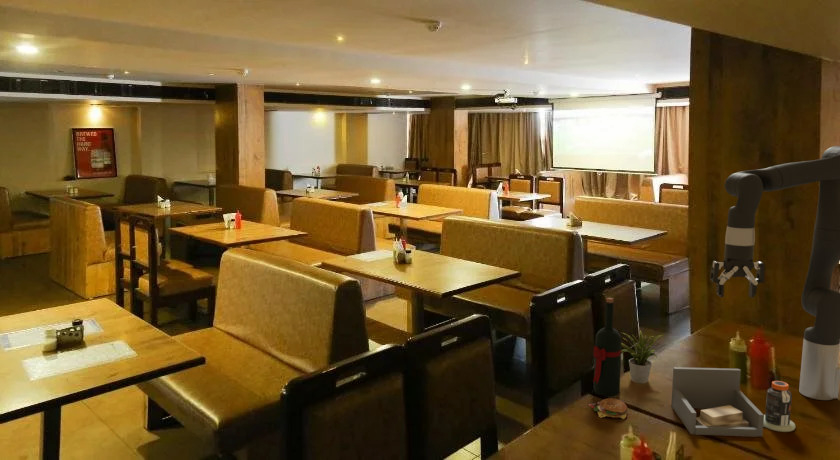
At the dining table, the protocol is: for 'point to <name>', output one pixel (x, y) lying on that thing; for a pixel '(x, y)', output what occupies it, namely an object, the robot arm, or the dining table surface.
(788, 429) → the coaster
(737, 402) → the frame
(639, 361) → the house plant
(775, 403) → the pill bottle
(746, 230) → the robot arm
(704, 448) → the dining table surface
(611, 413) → the hamburger
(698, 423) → the offcut lower
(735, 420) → the offcut upper
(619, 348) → the wine bottle
